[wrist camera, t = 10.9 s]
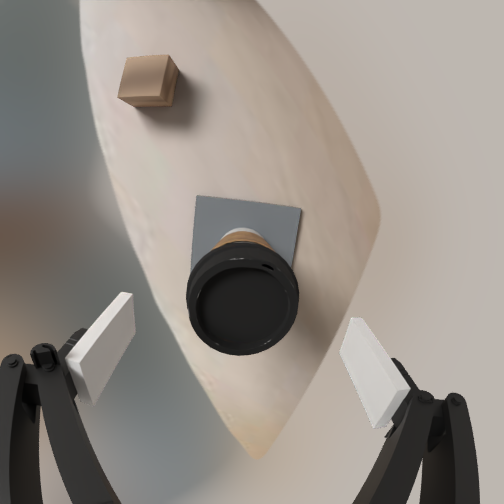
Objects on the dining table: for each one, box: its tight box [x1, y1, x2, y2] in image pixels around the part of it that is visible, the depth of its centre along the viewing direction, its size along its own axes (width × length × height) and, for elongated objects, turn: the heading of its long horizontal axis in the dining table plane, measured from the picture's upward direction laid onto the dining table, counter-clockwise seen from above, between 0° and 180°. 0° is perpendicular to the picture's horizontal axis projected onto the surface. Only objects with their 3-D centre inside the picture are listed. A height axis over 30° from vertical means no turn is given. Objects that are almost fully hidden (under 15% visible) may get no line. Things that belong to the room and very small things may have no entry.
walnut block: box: [117, 55, 179, 107], centre depth 25 cm, size 5×5×5 cm
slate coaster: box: [190, 195, 301, 274], centre depth 32 cm, size 12×12×1 cm
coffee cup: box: [186, 228, 299, 356], centre depth 25 cm, size 8×8×15 cm
